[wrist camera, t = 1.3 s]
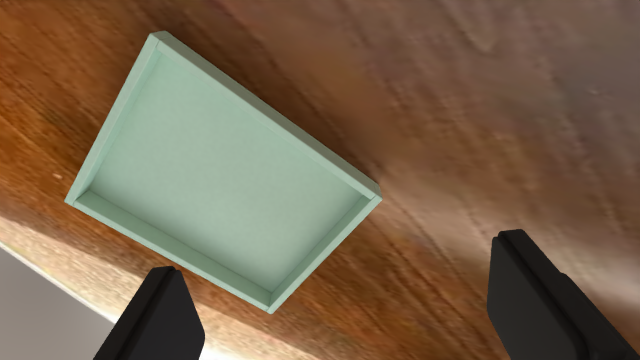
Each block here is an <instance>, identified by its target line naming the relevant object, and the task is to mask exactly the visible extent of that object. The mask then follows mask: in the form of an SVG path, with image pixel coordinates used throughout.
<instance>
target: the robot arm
mask: <svg viewBox="0 0 640 360" xmlns="http://www.w3.org/2000/svg"><path fill="white" fill-rule="evenodd" d="M487 312H488V315H489V318H490V320H491V322H492V324H493V326H494V328H495V330H496V332H497V334H498V335H499V337H500V339H501V341H502V343H503V345H504V347H505V349H506V351H507V353H508V355H509V357H510V358H511V360H640V356H639V355H638V354H637V353H636V351H635V350H634V349H633V348H632V347H631V346H630V345H629V344H628V342H627V341H626V340H625V339H624V338H623V337H622V336H621V335H620V333H619V332H618V331H617V330H616V329H615V328H614V327H613V326H612V324H611V323H610V322H609V321H608V320H607V319H606V318H605V317H604V315H603V314H602V313H601V312H600V311H599V310H598V309H597V308H596V306H595V305H594V304H593V303H592V302H591V301H590V300H589V299H588V297H587V296H586V295H585V294H584V293H583V292H582V291H581V290H580V288H579V287H578V286H577V285H576V284H575V283H574V282H573V281H572V280H571V278H569V277H568V276H567V275H566V274H564V273H560V271H559V270H558V269H557V268H556V267H555V266H554V265H553V263H552V262H551V261H550V260H549V259H548V258H547V257H546V255H545V254H544V253H543V252H542V251H541V250H540V249H539V247H538V246H537V245H536V244H535V243H534V242H533V240H532V239H531V238H530V237H529V236H528V235H527V234H526V232H525V231H523V230H522V229H516V230H507V231H500V232H499V234H498V237H493V239H492V248H491V260H490V272H489V283H488V295H487ZM204 342H205V332H204V329H203V326H202V324H201V321H200V319H199V316H198V314H197V311H196V309H195V306H194V303H193V301H192V298H191V296H190V293H189V291H188V288H187V285H186V283H185V280H184V278H183V275H182V273H181V271H180V270H176V269H175V267H173V266H165V267H156V268H152V269H151V270H150V272H149V273H148V275H147V276H146V278H145V280H144V281H143V283H142V284H141V286H140V287H139V289H138V290H137V292H136V293H135V295H134V297H133V298H132V300H131V301H130V303H129V304H128V306H127V307H126V309H125V310H124V312H123V314H122V315H121V317H120V318H119V320H118V321H117V323H116V324H115V326H114V328H113V329H112V330H111V332H110V334H109V335H108V337H107V338H106V340H105V341H104V343H103V344H102V346H101V347H100V349H99V351H98V352H97V354H96V355H95V357H94V358H93V360H199V357H200V354H201V351H202V348H203V346H204Z"/></svg>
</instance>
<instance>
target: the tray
mask: <svg viewBox="0 0 640 360" xmlns="http://www.w3.org/2000/svg"><path fill="white" fill-rule="evenodd" d="M382 199H383V198H382V195H381V191H380V188H379V185H378V184H377V183H376V182H374V181H373V180H372V179H370V178H369V177H367V176H366V175H365V174H363V173H362V172H360V171H359V170H358V169H356V168H355V167H354V166H352V165H351V164H349V163H348V162H347V161H345V160H344V159H342V158H341V157H340V156H338V155H337V154H336V153H334V152H333V151H331V150H330V149H329V148H327V147H326V146H324V145H323V144H322V143H320V142H319V141H318V140H316V139H315V138H313V137H312V136H311V135H309V134H308V133H307V132H305V131H304V130H302V129H301V128H300V127H298V126H297V125H295V124H294V123H293V122H291V121H290V120H289V119H287V118H286V117H284V116H283V115H282V114H280V113H279V112H277V111H276V110H275V109H273V108H272V107H271V106H269V105H268V104H266V103H265V102H264V101H262V100H261V99H259V98H258V97H257V96H255V95H254V94H253V93H251V92H250V91H248V90H247V89H246V88H244V87H243V86H242V85H240V84H239V83H237V82H236V81H235V80H233V79H232V78H230V77H229V76H228V75H226V74H225V73H224V72H222V71H221V70H219V69H218V68H217V67H215V66H214V65H212V64H211V63H210V62H208V61H207V60H206V59H204V58H203V57H201V56H200V55H199V54H197V53H196V52H194V51H193V50H192V49H190V48H189V47H188V46H186V45H185V44H183V43H182V42H181V41H179V40H178V39H177V38H175V37H174V36H172V35H171V34H170V33H168V32H167V31H160V32H154V33H150V34H149V36H148V38H147V40H146V42H145V44H144V46H143V48H142V50H141V52H140V54H139V56H138V58H137V60H136V62H135V64H134V66H133V67H132V69H131V71H130V73H129V75H128V77H127V79H126V81H125V83H124V85H123V87H122V89H121V91H120V93H119V95H118V97H117V99H116V101H115V103H114V105H113V107H112V109H111V110H110V112H109V114H108V116H107V118H106V120H105V122H104V124H103V126H102V128H101V130H100V132H99V134H98V136H97V138H96V140H95V142H94V144H93V146H92V148H91V150H90V151H89V153H88V155H87V157H86V159H85V161H84V163H83V165H82V167H81V169H80V171H79V173H78V175H77V177H76V179H75V181H74V183H73V185H72V187H71V189H70V191H69V193H68V194H67V196H66V198H65V200H64V202H66V203H68V204H69V205H71V206H72V205H73V207H75V208H77V209H79V210H81V211H82V212H84V213H86V214H88V215H90V216H92V217H93V218H95V219H97V220H99V221H101V222H103V223H104V224H106V225H108V226H110V227H112V228H114V229H115V230H117V231H119V232H121V233H123V234H125V235H126V236H128V237H130V238H132V239H134V240H136V241H137V242H139V243H141V244H143V245H145V246H147V247H148V248H150V249H152V250H154V251H156V252H158V253H159V254H161V255H163V256H165V257H167V258H169V259H170V260H172V261H174V262H176V263H178V264H180V265H181V266H183V267H185V268H187V269H189V270H191V271H192V272H194V273H196V274H198V275H200V276H202V277H203V278H205V279H207V280H209V281H211V282H213V283H214V284H216V285H218V286H220V287H222V288H224V289H225V290H227V291H229V292H231V293H233V294H235V295H236V296H238V297H240V298H242V299H244V300H246V301H247V302H249V303H251V304H253V305H255V306H257V307H258V308H260V309H262V310H264V311H266V312H268V313H269V314H272V313H273V312H274V311H275V310H276V309H277V308H278V307H279V306H280V305H281V304H282V303H283V302H284V301H285V300H286V299H287V298H288V297H289V296H290V295H291V294H292V293H293V291H294V290H295V289H296V288H297V287H298V286H299V285H300V284H301V283H302V282H303V281H304V280H305V279H306V278H307V277H308V276H309V275H310V274H311V273H312V272H313V271H314V270H315V269H316V268H317V267H318V266H319V265H320V264H321V262H322V261H323V260H324V259H325V258H326V257H327V256H328V255H329V254H330V253H331V252H332V251H333V250H334V249H335V248H336V247H337V246H338V245H339V244H340V243H341V242H342V241H343V240H344V239H345V238H346V237H347V236H348V235H349V233H350V232H351V231H352V230H353V229H354V228H355V227H356V226H357V225H358V224H359V223H360V222H361V221H362V220H363V219H364V218H365V217H366V216H367V215H368V214H369V213H370V212H371V211H372V210H373V209H374V208H375V207H376V206H377V204H378V203H379V202H380V201H381V200H382Z"/></svg>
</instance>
